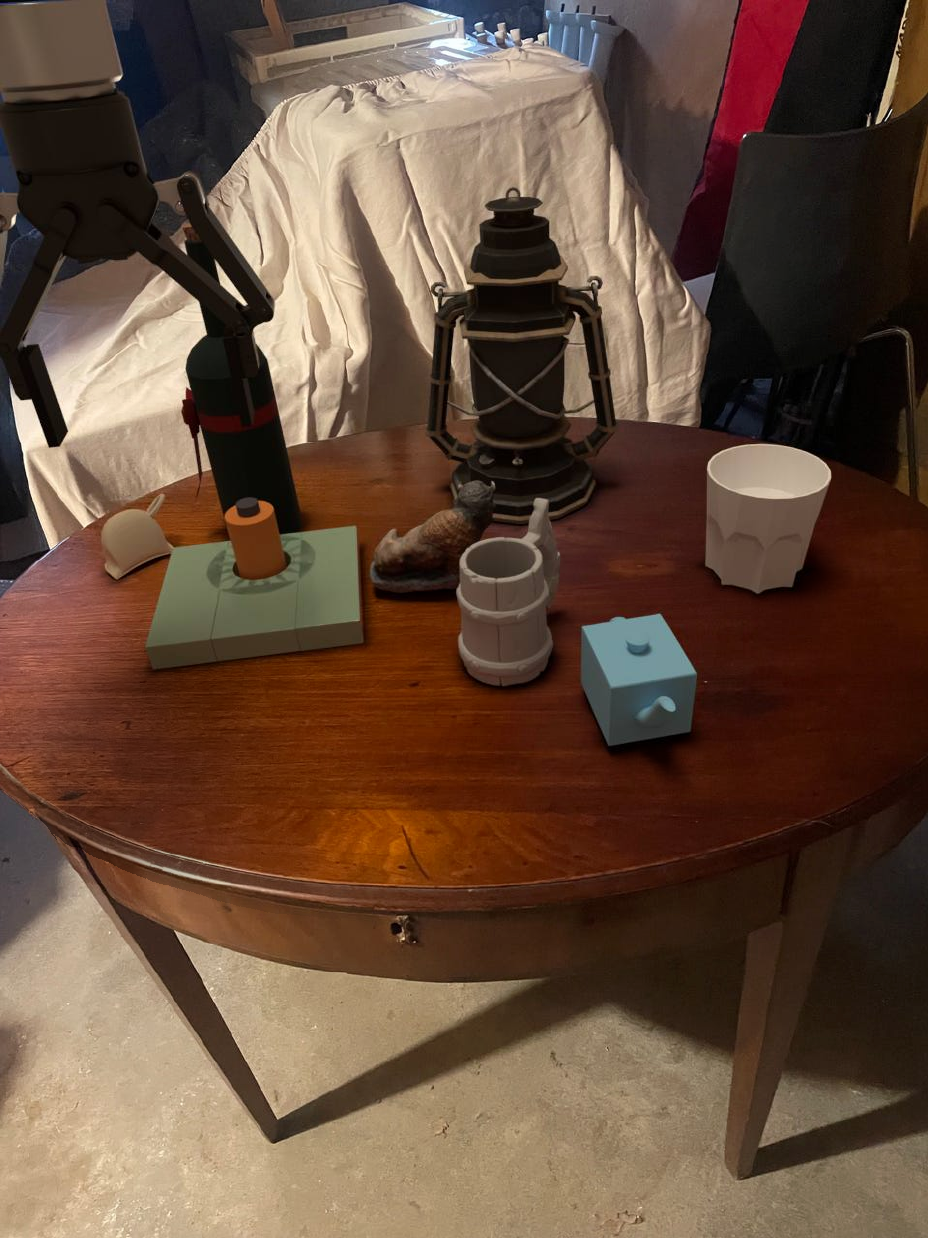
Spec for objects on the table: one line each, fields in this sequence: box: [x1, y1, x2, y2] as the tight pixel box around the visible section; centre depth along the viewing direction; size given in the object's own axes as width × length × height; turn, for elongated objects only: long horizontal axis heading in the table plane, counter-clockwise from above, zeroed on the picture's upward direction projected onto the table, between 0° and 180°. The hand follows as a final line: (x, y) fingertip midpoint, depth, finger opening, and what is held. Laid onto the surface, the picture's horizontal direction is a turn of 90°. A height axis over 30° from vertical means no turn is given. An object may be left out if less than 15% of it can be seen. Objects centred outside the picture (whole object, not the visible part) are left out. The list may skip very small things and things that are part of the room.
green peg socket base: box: [144, 525, 365, 671], centre depth 81 cm, size 18×16×2 cm
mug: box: [455, 498, 561, 687], centre depth 70 cm, size 8×12×12 cm, turn 145°
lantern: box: [425, 186, 619, 526], centre depth 87 cm, size 20×16×30 cm
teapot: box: [580, 613, 698, 747], centre depth 63 cm, size 12×6×8 cm, turn 10°
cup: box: [704, 443, 832, 595], centre depth 78 cm, size 10×10×10 cm
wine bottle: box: [180, 222, 304, 538], centre depth 83 cm, size 8×10×30 cm
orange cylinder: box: [224, 497, 287, 580], centre depth 81 cm, size 4×4×9 cm
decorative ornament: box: [100, 493, 174, 581], centre depth 88 cm, size 4×8×5 cm, turn 133°
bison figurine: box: [369, 481, 496, 594], centre depth 79 cm, size 12×7×10 cm, turn 91°
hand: (154, 430), depth 64 cm, fingers open, 13 cm apart
